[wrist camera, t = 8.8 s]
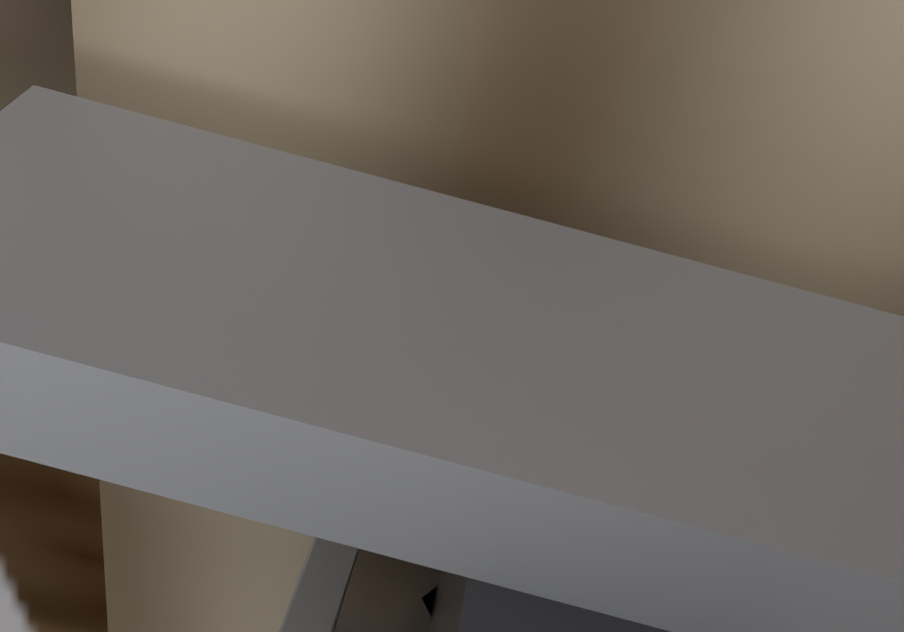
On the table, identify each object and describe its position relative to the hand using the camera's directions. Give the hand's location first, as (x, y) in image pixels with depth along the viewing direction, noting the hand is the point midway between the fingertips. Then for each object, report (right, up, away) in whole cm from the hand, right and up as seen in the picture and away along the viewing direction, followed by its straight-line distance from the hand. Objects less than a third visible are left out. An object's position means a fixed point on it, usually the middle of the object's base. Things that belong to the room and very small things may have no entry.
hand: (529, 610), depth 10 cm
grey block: (0, 0, +1) cm, 1 cm away
